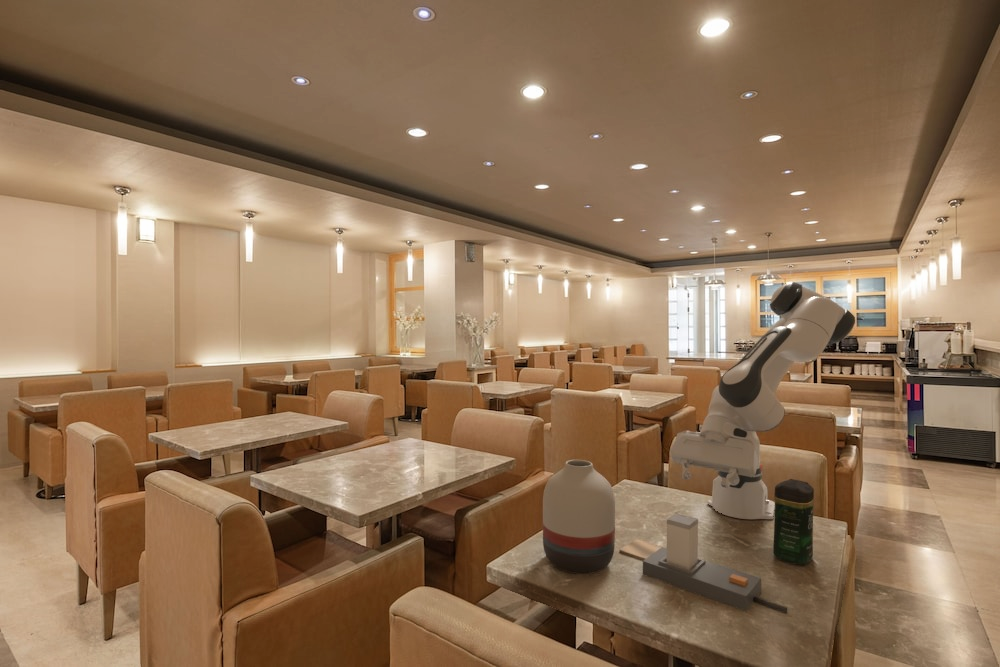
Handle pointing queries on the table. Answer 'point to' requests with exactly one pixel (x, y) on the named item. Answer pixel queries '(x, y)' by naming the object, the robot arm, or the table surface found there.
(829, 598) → the table surface
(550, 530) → the vase
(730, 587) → the power strip
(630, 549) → the coaster
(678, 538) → the block
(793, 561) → the coffee jar
